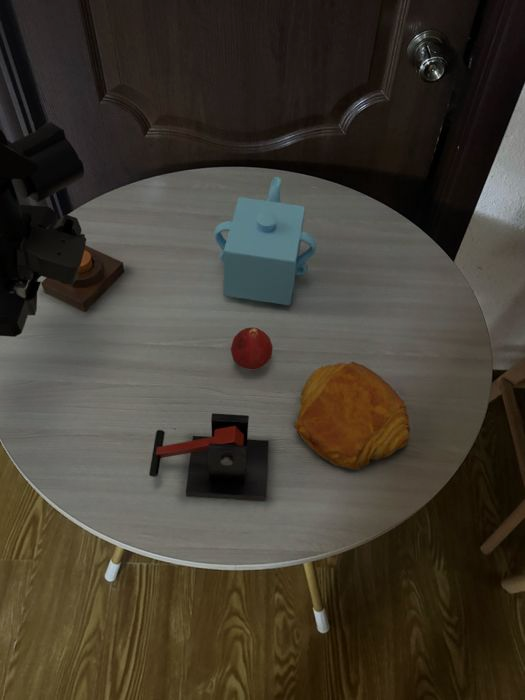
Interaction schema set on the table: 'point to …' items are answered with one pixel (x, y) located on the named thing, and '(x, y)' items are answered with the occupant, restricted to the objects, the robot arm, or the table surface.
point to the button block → (87, 282)
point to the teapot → (264, 248)
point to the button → (85, 263)
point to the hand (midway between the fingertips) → (31, 313)
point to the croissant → (351, 415)
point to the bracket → (229, 465)
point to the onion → (251, 348)
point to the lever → (192, 445)
